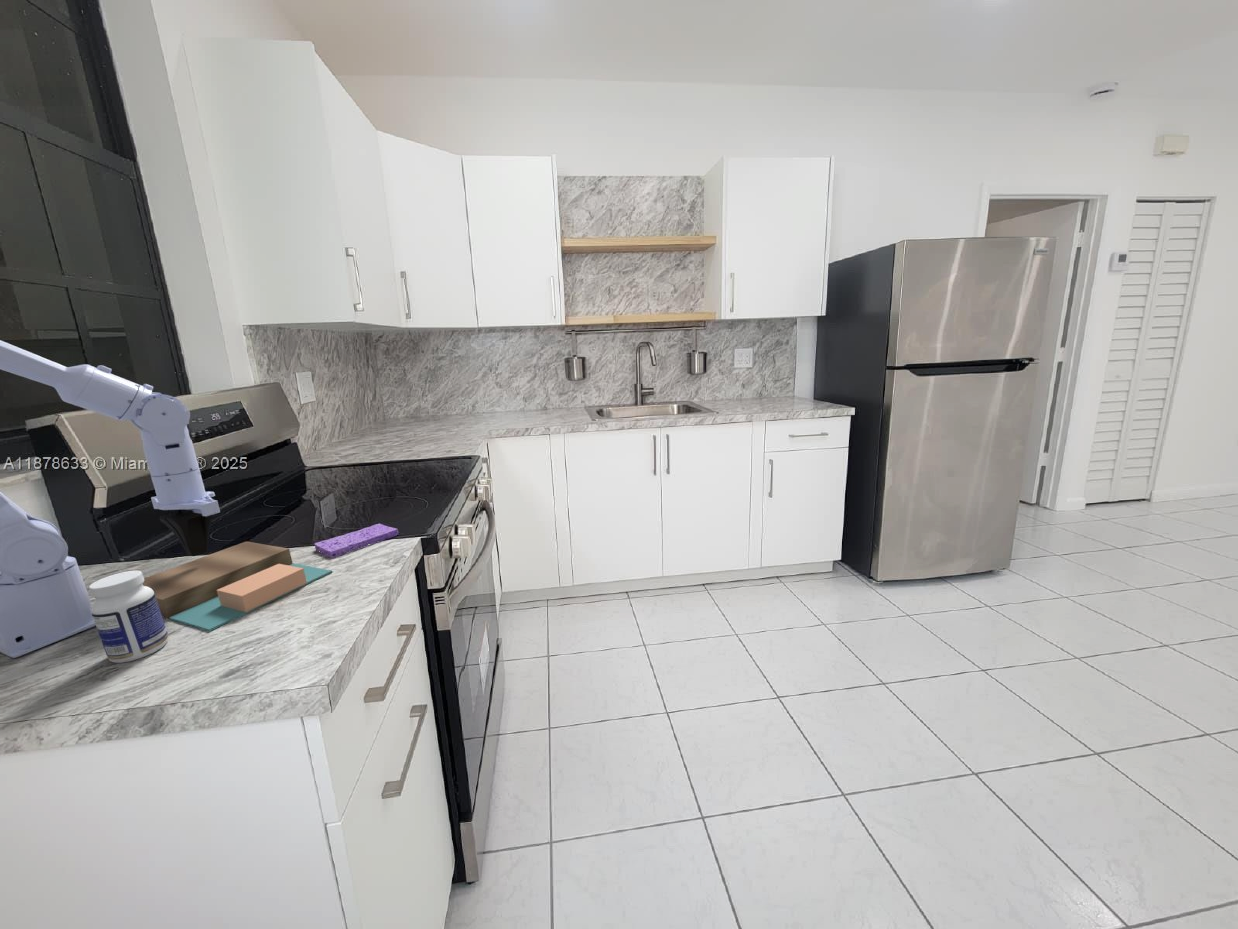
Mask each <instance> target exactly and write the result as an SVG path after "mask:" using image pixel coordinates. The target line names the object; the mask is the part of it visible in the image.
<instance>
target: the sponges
mask: <svg viewBox="0 0 1238 929" xmlns="http://www.w3.org/2000/svg"><path fill="white" fill-rule="evenodd" d="M398 534H399V530H398V528H395V527H391V526H388V525H384V524H382V523H378V524H377V523H376V524H373V525H371V526H367V527H364V528H361V529H360V530H356V531H352V532H349V533H345V534H343V535H339V536H335V537H333V538H332V537H330V538H329V539H325V540H322V541H318V542H315V543H314V548H315V551H316V550H317V552H318V551H320V552H319V553H321V552H322V553H323V555H325V556H327V555H328V556H327V557H329V558H331V559H334V558H336V556H337V557H339V555H340V556H342V555H345V554H348V553H350V552H349V551H351V552H353V550H354V551H356V549H357V550H359V549H363V548H365V547H367V546H366V545H368V544H371V545H373V543H374V544H376V543H375V542H377V541H379V542H382V541H385V540H387V539H390V538H394V537H396V536H397V535H398ZM377 543H378V542H377ZM364 546H365V547H364ZM368 546H369V545H368ZM358 548H359V549H358ZM347 552H348V553H347ZM322 553H321V554H322Z"/></svg>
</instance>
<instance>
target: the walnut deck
mask: <svg viewBox="0 0 1238 929" xmlns="http://www.w3.org/2000/svg"><path fill="white" fill-rule="evenodd" d="M277 564H283V565H288V566H289V565H291V564H293V559H292V554H291V551H290V548H289V547H288V548H287V547H281V546H276V545H270V544H269V545H268V544H263V543H257V542H254V541H253V542H252V541H243V542H241V543H238V544H236V545H232V546H230V547H227V548H224V549H222V550H219V551H216V552H214V553H210V554H207V555H204V556H202V557H199V558H196V559H193V560H190V561H188V562H185V563H183V564H180V565H177V566H175V567H172V568H169V569H166V570H164V571H161V572H157V573H156V574H153V575H150V576H147V577H144V582H143V586H147V587H149V588H151V589H152V590H153V591H154V593H155V597H156V600H157V603H158V606H159V609H160V612H161V615H162V618H164V619H167V620H170V619H169V617H171V616H173V615H176V614H178V613H180V612H183V611H185V610H187V609H190V608H192V607H194V606H196V605H199V604H201V603H203V602H206V601H208V600H210V599H213V598H215V597H217V596H218V594H217V590H218V589H220V588H223V587H225V586H227V585H230V584H232V583H234V582H237V581H239V580H241V579H244V578H246V577H249V576H251V575H253V574H256V573H258V572H260V571H263V570H265V569H267V568H270V567H272V566H275V565H277Z"/></svg>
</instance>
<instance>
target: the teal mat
mask: <svg viewBox="0 0 1238 929" xmlns="http://www.w3.org/2000/svg"><path fill="white" fill-rule="evenodd" d="M292 563H293V562H292ZM289 566H294V567H299V568H304V573H305V577H306V581H307V583H306V584H304V585H302V586H300V587H298V588H296V589H294V590H291V591H289V592H287V593H285V594H283V595H281V596H279V597H277V598H275V599H273V600H271V601H269V602H266V603H264V604H262V605H260V606H258V607H256V608H254V609H252V610H250V611H248V612H243V611H240V610H236V609H232V608H228V607H224V606H221V604H220V601H219V597H218V596H217V597H215V598H213V599H210V600H208V601H206V602H203V603H201V604H199V605H196V606H194V607H192V608H190V609H187V610H185V611H183V612H180V613H178V614H176V615H173V616H171V617H169V619H168V620H171V621H174V622H178V623H181V624H184V625H186V626H187V625H188V626H190V627H194V628H198V629H199V630H200V629H201V630H204V631H207V632H212V631H213V630H216V629H218V628H220V627H222V626H223V625H226V624H228V623H231V622H232V621H235V620H236V619H239V618H240V617H243V616H244V615H247V614H249V613H251V612H253V611H255V610H258V609H260V608H261V607H263V606H266V605H268V604H269V603H272V602H274V601H276V600H278V599H281V597H284V596H286V595H288V594H290V593H292V592H294V591H297V590H298V589H302V588H303V587H304V586H305V587H306V586H307V585H309V584H311V583H313V582H315V581H317V580H320V579H321V578H323V577H325V576H327V575H330V574H331V573H333V570H332V569H331V570H329V569H326V568H325V569H324V568H320V567H315V566H309V565H305V564H299V563H293V564H291V565H289Z"/></svg>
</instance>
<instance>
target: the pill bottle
mask: <svg viewBox="0 0 1238 929" xmlns="http://www.w3.org/2000/svg"><path fill="white" fill-rule="evenodd" d="M144 578H145V577H144V574H143V572H142V571H141V570H129V571H122V572H117V573H114V574H112V575H111V574H110V575H108V576H105V577H103V578H100V579H98V580H96V581H94V582H92V583H91V584H90V585H89V586H88V589H89V592H90V595H91V597H92V598H95V600H94V602H93V603H91V604H92V606H91V609H90V610H91V614H92V617H93V619H94V622H95V625H96V626H95V628H96V630H97V632H98V636H99V638H100V641H101V643H102V646H103V649H104V651H105V654H106V656H107V659H108V660H109V661H110V662H112V663H116V664H121V663H122V664H123V663H128V662H133V661H136V660H139V659H142V658H144V657H145V658H146V657H147V656H149V655H151V654H153V653H155V652H157V651H158V650H161V649H162V648H163V647H164V646H166V645H167V643H168V642H169V639H170V636H169V633H168V630H167V627H166V624H165V621H164V619H163V618H164V617H162V615H161V612H160V609H159V606H158V603H157V600H156V597H155V593H154V591H153V590H152V589H151V588H149V587H147V586H143V582H144Z"/></svg>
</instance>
